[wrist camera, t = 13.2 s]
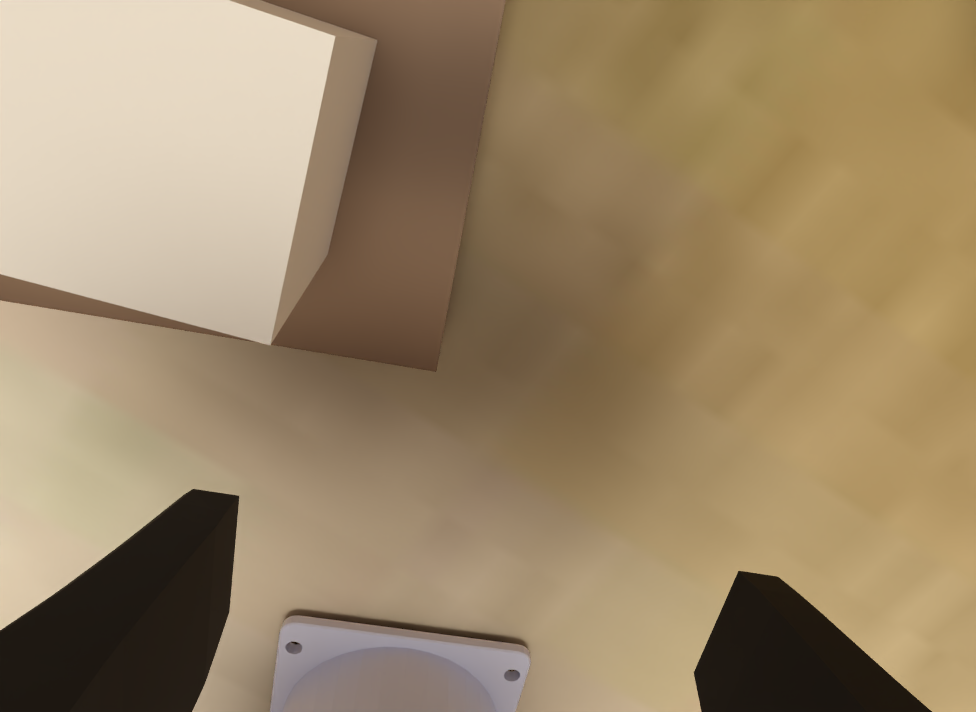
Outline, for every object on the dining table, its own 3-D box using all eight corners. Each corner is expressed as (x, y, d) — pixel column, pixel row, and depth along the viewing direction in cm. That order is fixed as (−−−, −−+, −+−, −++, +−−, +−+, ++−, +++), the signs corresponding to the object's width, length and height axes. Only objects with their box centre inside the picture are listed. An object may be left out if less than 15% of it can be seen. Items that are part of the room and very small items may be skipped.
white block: (327, 254, 15) (270, 345, 10) (114, 193, 14) (-46, 261, 10) (377, 40, 13) (334, 35, 9) (140, -41, 13) (-40, -91, 8)
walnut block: (439, 325, 19) (436, 371, 16) (51, 258, 18) (-23, 296, 15) (517, -101, 15) (530, -134, 12) (29, -220, 14) (-76, -286, 11)
